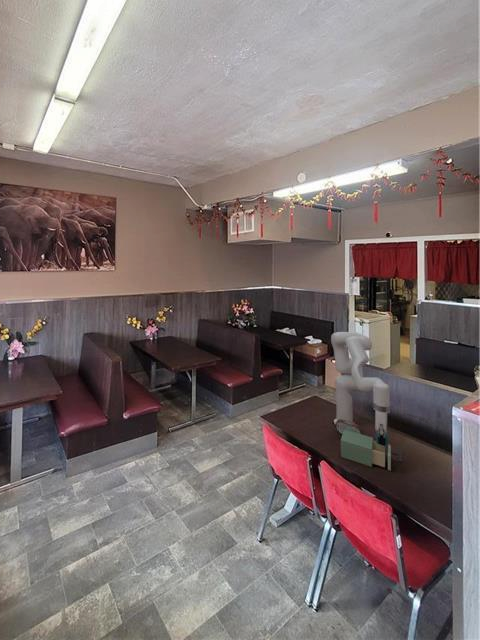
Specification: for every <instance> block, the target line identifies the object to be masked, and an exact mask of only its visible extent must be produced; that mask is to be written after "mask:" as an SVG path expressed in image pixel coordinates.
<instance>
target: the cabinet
mask: <svg viewBox="0 0 480 640" xmlns="http://www.w3.org/2000/svg"><path fill="white" fill-rule="evenodd" d="M373 441H374V437H372V436H368V435H365V434H363V435H362V434H358V433H355V432H351V431H348V430H344V431H343V434H341V438H340V457H341V458H343V459H345V460H350V461H352V462H355V463H359V464H361V465H364V466H368V467H370V468H372V467H373V463H372V445H373Z"/></svg>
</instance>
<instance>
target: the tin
mask: <svg viewBox="0 0 480 640" xmlns="http://www.w3.org/2000/svg"><path fill="white" fill-rule="evenodd" d="M354 423H355V422H354ZM354 423H351V422H348V421H346V420H343V419H339V420H338V421H337V422H336V425H335V429H336V431H337V432H338V433H339V434H341V435H342V434H343V431H344V430H348V431H351V432H355V433H358V434H362V435H364V430H363V429H362V427H361V426H360V425H359V424H357V423H355V424H354Z"/></svg>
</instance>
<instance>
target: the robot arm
mask: <svg viewBox="0 0 480 640" xmlns="http://www.w3.org/2000/svg"><path fill="white" fill-rule="evenodd" d="M330 342H331V343H330V344H331V346H332V348H333V353H334V363H335V364H334V365H335V369H336V371H337V372H338V373H340V374H341V375H337V376H335V378H334V386H335V398H336V401H335V403H336V404H335V405H336V407H335V408H336V409H335V411H336V415H335V418H334V419H333V424H334V425H335V426H336V422H337V421H338V420H339V419H343V420H346V421H348V422H351V423H354V424H356V423H355V422H354V421H353V418H354V412H353V408H354V407H353V406H354V401H353V396H352V394H350V392H361V393H372V407H373V410H374V411H375V412H374V415H375V416H374V419H375V420H374V423H375V424H374V425H375V428H374V430H375V432H376V431H378V430H379V436H378V444H380V445H383V446H385V433H386V432H387V429H388V414H390V413H391V388H390V385H389V384H387V383H385V382H384V381H383V380H382V379H381V378H379V377H373V376H371V377H370V376H366V377H365V376H364V370H363V366H365V365H367V364H368V363H369V362H370V358H369V355H368V353H367V351H370V350H372V348H373V343H372V341H371V339H370V338H369V337H368V336H367V335H365V334H362V333H361V332H358V331H336V332H334V333H332V334H331V337H330ZM350 356H351V357H350ZM350 374H351V375H350ZM383 433H384V434H383ZM385 447H386V446H385Z"/></svg>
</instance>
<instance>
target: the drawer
mask: <svg viewBox="0 0 480 640" xmlns="http://www.w3.org/2000/svg"><path fill="white" fill-rule="evenodd" d="M392 455H395V456H398V459H396V458H393V457H392ZM392 461H393V462H397V463H399V464H400V465H402V464H403V454H402V453H396V452H393V451H392V445H391V444H389V443H388V446H387V470H388V471H392ZM372 465H376V466H380V467H381V468H386V446H383V445H380V444H377V443H376V440H373V445H372Z"/></svg>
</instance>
